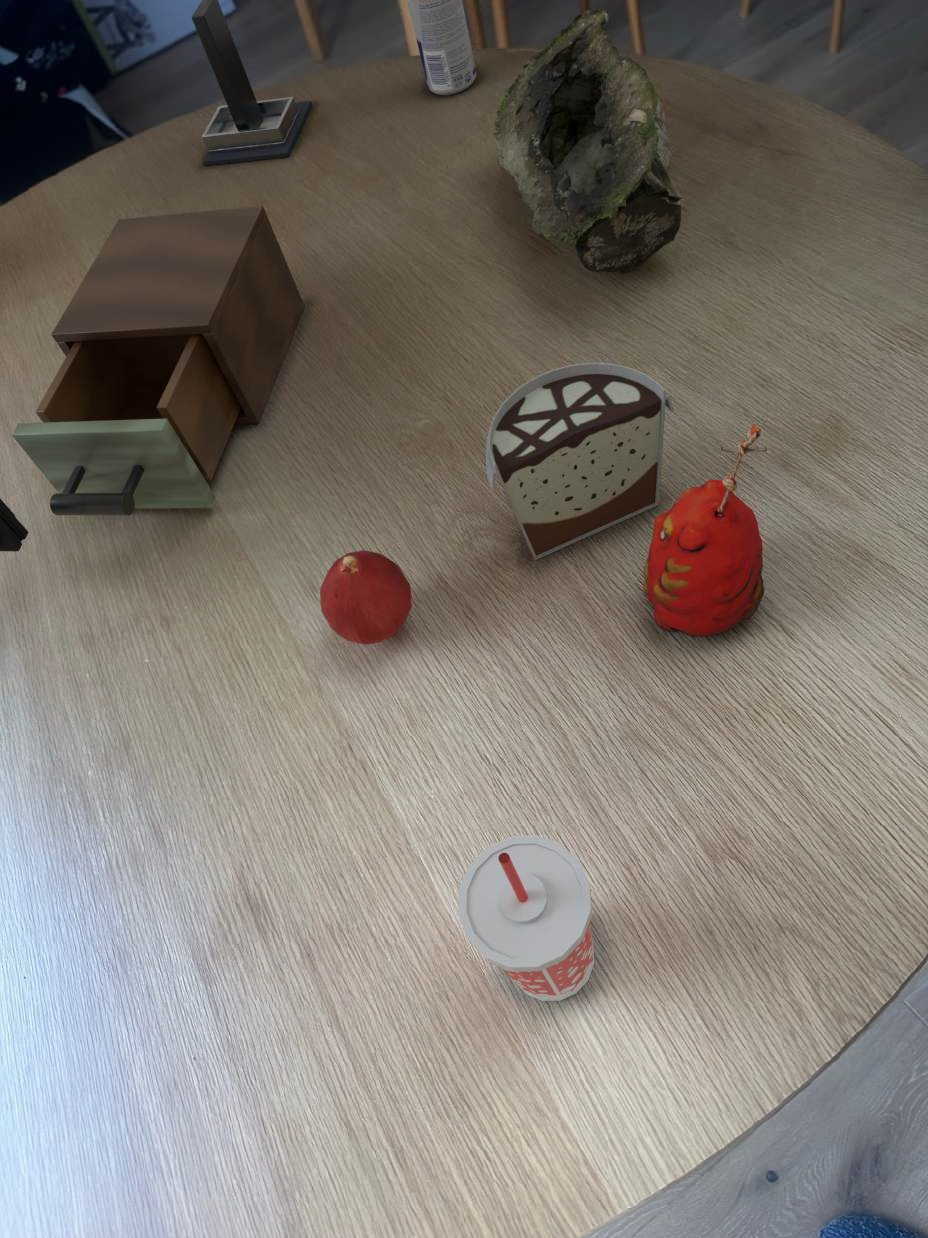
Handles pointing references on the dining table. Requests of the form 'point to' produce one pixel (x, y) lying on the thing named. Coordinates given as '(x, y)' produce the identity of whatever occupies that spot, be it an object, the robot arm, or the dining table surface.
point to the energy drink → (443, 44)
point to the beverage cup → (530, 915)
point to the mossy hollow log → (590, 149)
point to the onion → (365, 597)
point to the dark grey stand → (238, 93)
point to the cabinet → (195, 293)
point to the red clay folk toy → (706, 557)
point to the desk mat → (263, 152)
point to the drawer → (132, 425)
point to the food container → (578, 451)
